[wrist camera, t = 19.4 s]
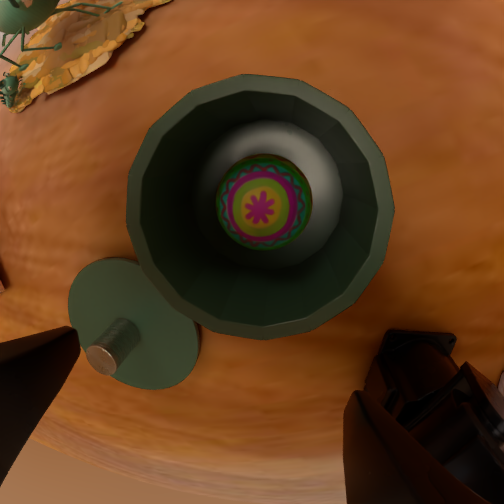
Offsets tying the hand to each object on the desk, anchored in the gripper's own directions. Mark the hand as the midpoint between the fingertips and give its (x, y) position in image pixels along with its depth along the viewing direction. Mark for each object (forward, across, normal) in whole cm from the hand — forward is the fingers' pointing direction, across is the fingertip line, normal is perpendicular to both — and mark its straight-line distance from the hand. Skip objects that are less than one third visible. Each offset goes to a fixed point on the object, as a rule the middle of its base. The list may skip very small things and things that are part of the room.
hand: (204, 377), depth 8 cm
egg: (+11, 0, -4) cm, 12 cm away
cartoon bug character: (+12, +16, -15) cm, 25 cm away
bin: (+12, 0, -4) cm, 12 cm away
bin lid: (+11, +8, +7) cm, 15 cm away
